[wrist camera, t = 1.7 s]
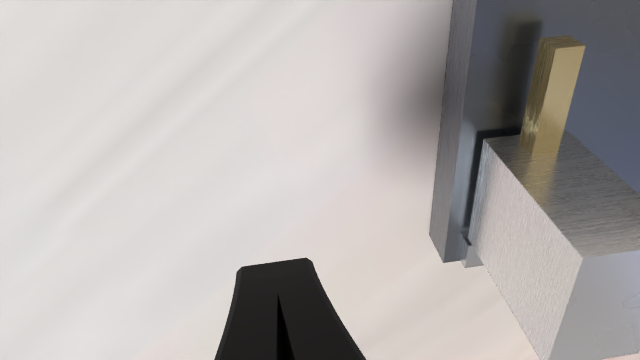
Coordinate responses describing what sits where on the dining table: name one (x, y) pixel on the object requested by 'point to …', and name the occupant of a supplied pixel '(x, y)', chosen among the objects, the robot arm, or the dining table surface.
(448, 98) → the gauge plate
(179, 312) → the dining table surface
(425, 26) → the dining table surface
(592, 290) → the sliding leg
